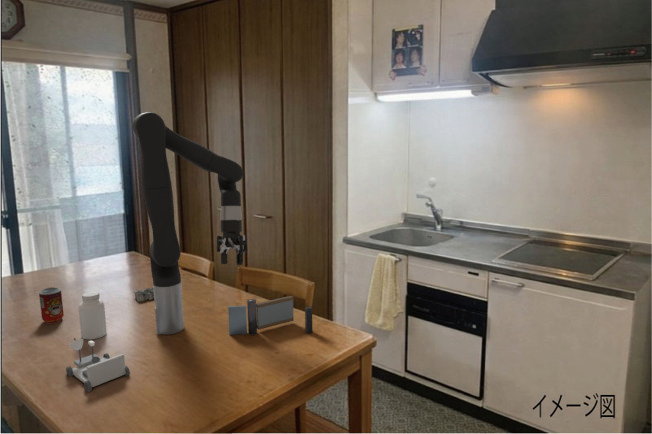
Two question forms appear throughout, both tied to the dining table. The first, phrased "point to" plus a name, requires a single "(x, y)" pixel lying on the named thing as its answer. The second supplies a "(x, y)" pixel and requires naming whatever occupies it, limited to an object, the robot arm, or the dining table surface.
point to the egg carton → (144, 294)
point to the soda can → (51, 305)
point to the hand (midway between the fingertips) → (231, 264)
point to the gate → (274, 312)
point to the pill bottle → (92, 316)
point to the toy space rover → (96, 367)
